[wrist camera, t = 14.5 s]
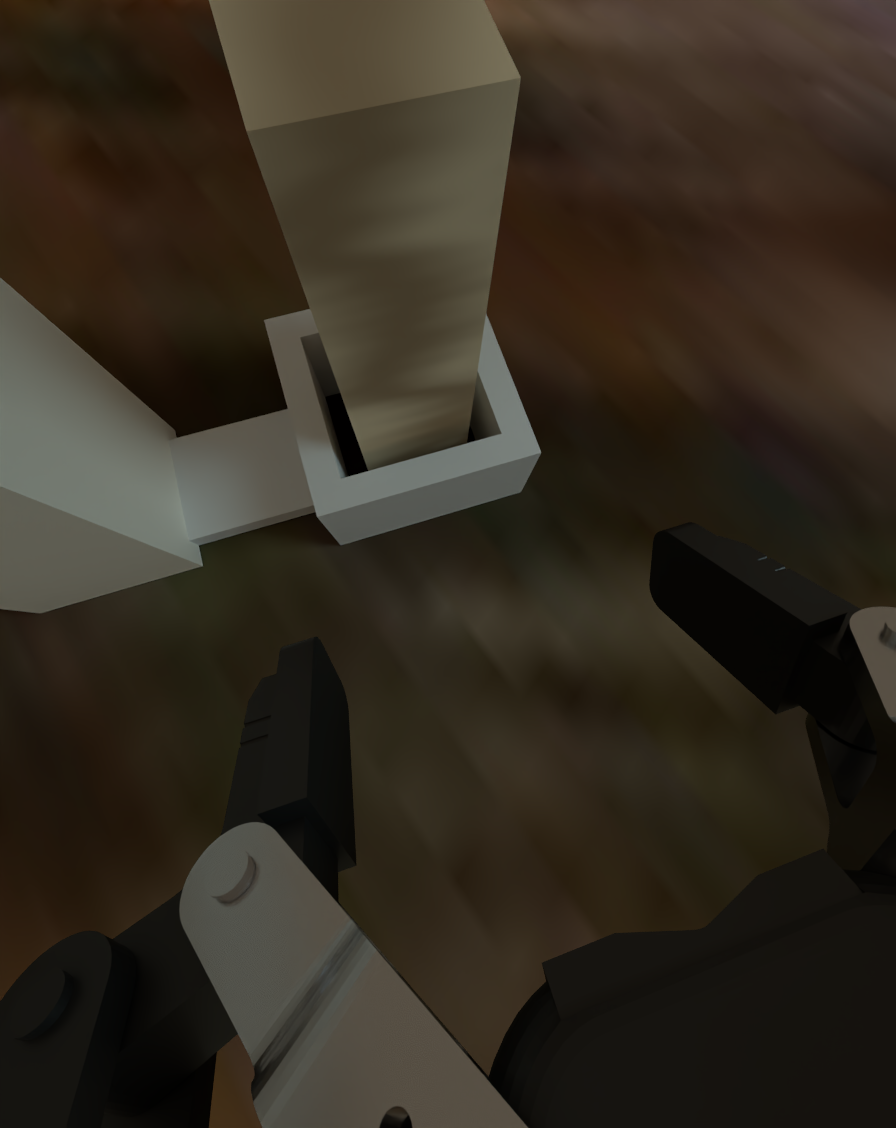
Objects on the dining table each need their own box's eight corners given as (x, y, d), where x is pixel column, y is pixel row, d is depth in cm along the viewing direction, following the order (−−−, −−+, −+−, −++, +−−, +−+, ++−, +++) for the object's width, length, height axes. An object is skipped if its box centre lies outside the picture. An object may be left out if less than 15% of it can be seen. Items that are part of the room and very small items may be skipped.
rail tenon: (436, 387, 21) (438, -95, 8) (463, 465, 20) (520, 77, 7) (351, 410, 21) (192, -57, 7) (375, 490, 20) (247, 132, 6)
